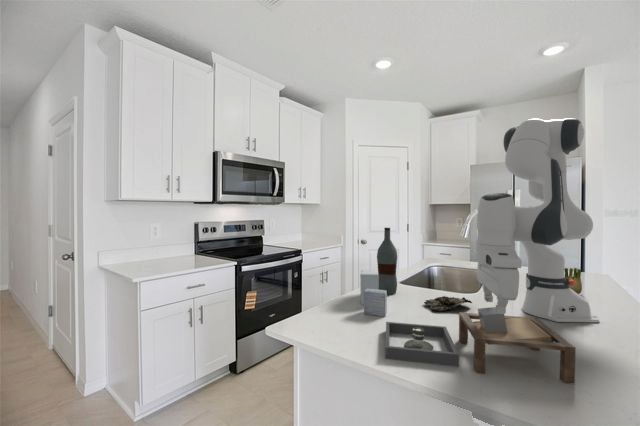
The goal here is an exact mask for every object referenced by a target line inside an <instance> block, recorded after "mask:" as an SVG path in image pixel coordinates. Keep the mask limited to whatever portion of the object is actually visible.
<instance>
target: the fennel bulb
mask: <svg viewBox="0 0 640 426" xmlns="http://www.w3.org/2000/svg"><path fill="white" fill-rule="evenodd" d="M581 276H582V269H581V268H577V267H570V268H568V267H564V277H565V278H567V279H569V280H574V281H576V282H577V285H576V286H571V285H569V286H570V288H571V289H572V290H573V291H575V292H576V293H577V294H579V295H580V294H581V293H582V291H583V290H582V289H583V286H582V284H583V283H582V278H581Z"/></svg>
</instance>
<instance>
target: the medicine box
mask: <svg viewBox="0 0 640 426" xmlns="http://www.w3.org/2000/svg"><path fill="white" fill-rule="evenodd" d="M387 298H388V295H387V291H386V290H377V289H366V290H365V291H364V304H363V315H369V316H376V317H378V316H379V317H386V315H387V313H388V312H387V311H388V310H387V309H388V307H387V306H388V305H387Z"/></svg>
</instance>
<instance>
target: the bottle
mask: <svg viewBox="0 0 640 426" xmlns="http://www.w3.org/2000/svg"><path fill="white" fill-rule="evenodd" d="M383 229H384V233H383V235H384V238H383V239H384V240H383V241H382V242H381V244H380V245H379V247H378V249H377V251H376V260H377V261H376V262H377V271H378V275H379V290H386V291H387V296H392V295H395V294H396V293H397V290H398V278H397V267H398V266H397V265H398V252H397V247H396V246H395V244H394V243H393V242H392V240H391V227H384V228H383Z"/></svg>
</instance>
